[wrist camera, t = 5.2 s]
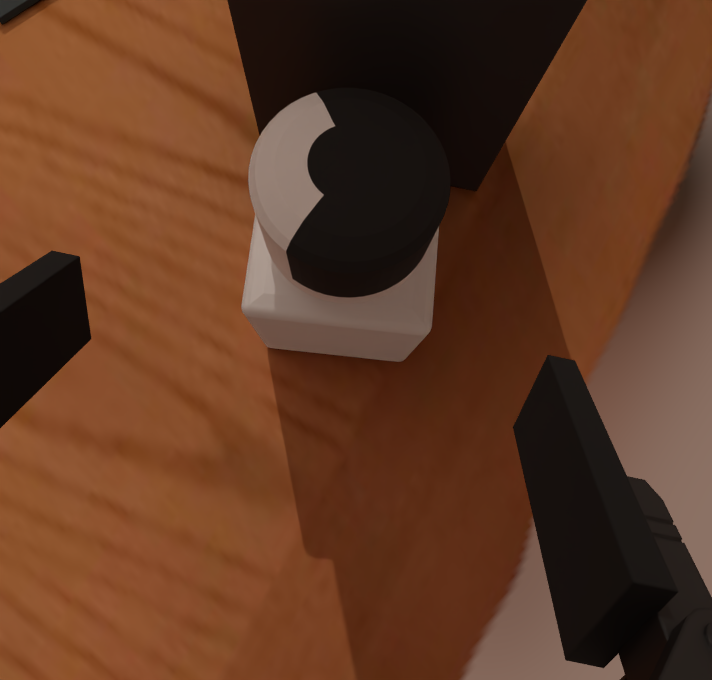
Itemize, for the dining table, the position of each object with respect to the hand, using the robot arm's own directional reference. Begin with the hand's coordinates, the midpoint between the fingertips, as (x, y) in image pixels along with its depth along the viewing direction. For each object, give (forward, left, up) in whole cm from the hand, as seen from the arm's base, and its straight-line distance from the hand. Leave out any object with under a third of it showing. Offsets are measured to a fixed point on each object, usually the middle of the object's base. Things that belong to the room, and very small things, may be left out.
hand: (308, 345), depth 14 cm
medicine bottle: (+3, -4, -11) cm, 12 cm away
